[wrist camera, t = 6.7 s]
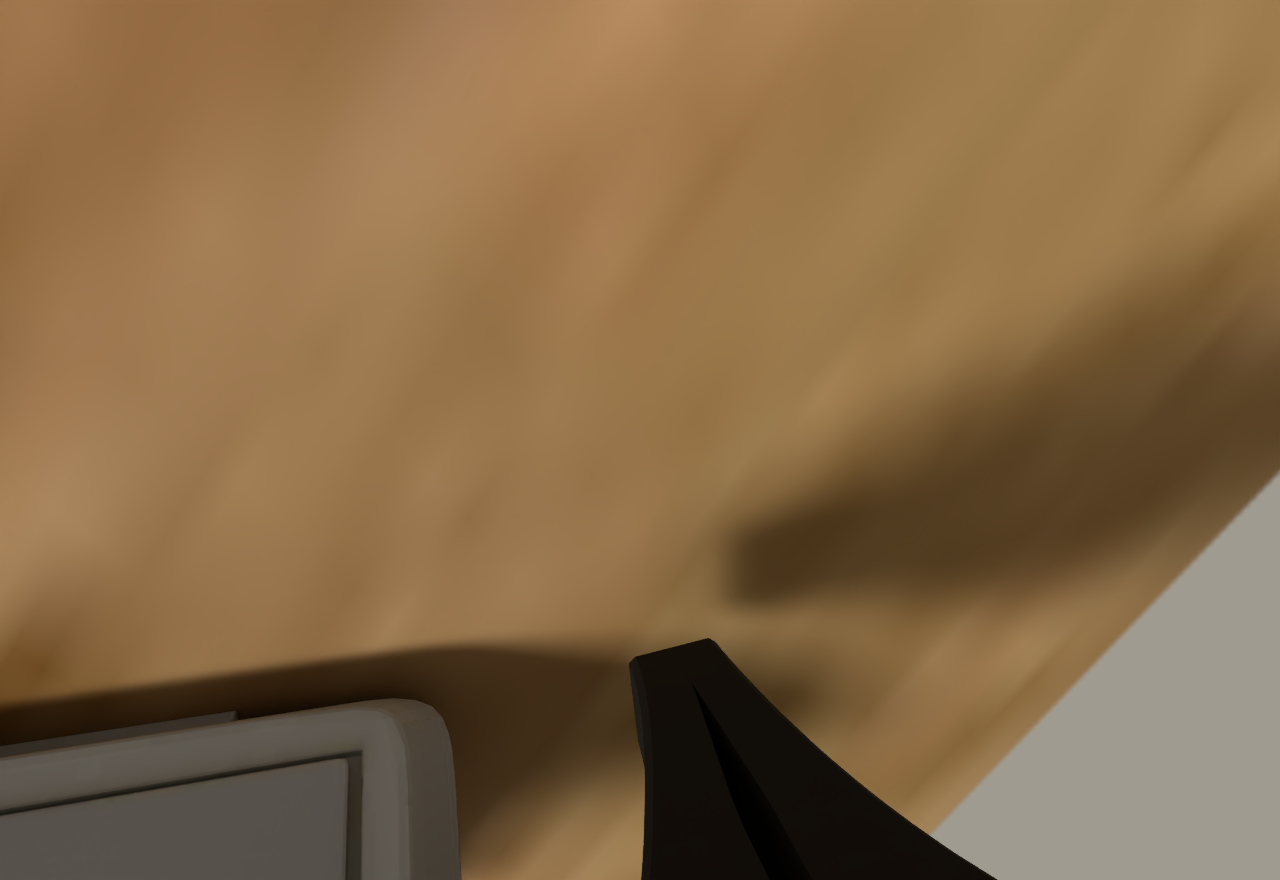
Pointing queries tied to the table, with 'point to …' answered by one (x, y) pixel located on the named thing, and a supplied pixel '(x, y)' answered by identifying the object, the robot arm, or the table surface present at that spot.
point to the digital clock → (237, 799)
